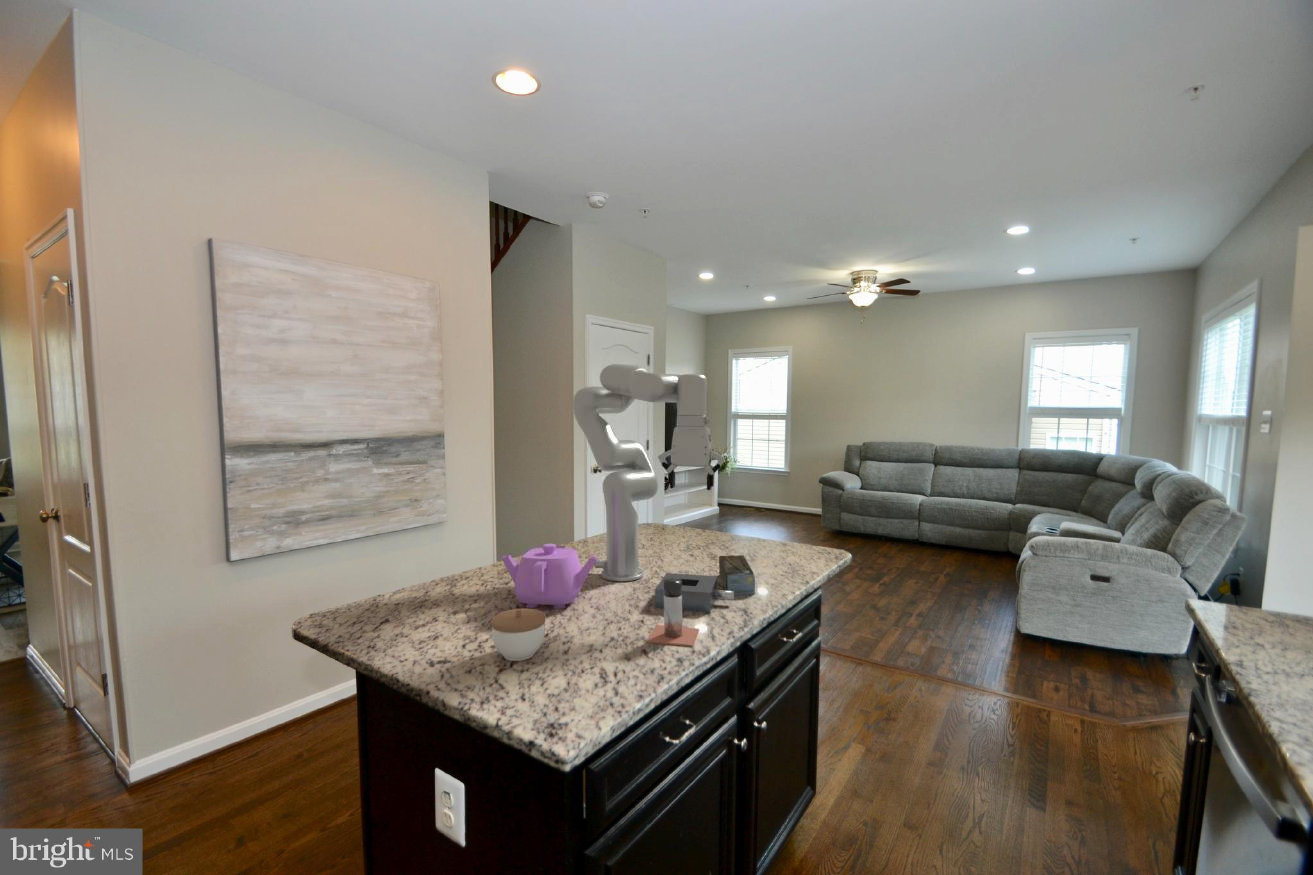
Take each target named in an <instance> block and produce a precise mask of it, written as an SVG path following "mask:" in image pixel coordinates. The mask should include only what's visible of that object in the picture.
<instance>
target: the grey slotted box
mask: <svg viewBox="0 0 1313 875" xmlns="http://www.w3.org/2000/svg"><path fill="white" fill-rule="evenodd" d="M669 578H677V579H680V580H682V612H683V611H684V612H694V613H708V614H709V613H710V614H711V612H712V610H713V607H714V605H715V602H716V600H717V599H725V600H726V599H728V600H734V599H735V595H734V591H726V590H725V589H724V590H722V589H721V590H720V589H718V587H719V586H718V585H719V584H718V583H719V582H718V579H719V578H718V576H717V575H715V576H714V575H702V574H688V573H687V574H686V573H671V572H667V573H665V575H664V576H663V578H662V579H661V580H660V582H659V583H658V584H657V586H656V587H655V588H654V609H657V610H658V609H659V610H664V580H665V579H669Z"/></svg>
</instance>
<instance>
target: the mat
mask: <svg viewBox="0 0 1313 875" xmlns="http://www.w3.org/2000/svg"><path fill="white" fill-rule="evenodd" d="M699 632H700V628H696V627H695V628H694V627H693V628H692V627H685V626H684V627H683V626H682V636H681V637H679V638H668V637H666V636H665V635H664V625H660V624H656V625H655V626H654V628H653V630H652V631H651V632H650V634H649V636H648V637H647V639H646V643H647V644H648V643H649V644H656V645H657V644H661V645H668V644H670V646H678V645H679V647H689V648H690V647H691V648H692V647H694V644H695V642H696V639H697V636H698V634H699Z"/></svg>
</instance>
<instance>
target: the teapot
mask: <svg viewBox="0 0 1313 875" xmlns="http://www.w3.org/2000/svg"><path fill="white" fill-rule="evenodd" d="M579 558H580V557H579V556H578V552H577V550H576V549H574V548H569V547H565V545H557V544H554V543H545V544H542V547H534V548H531V549H529V550H528V551H527V552H525V553H524V554H523V555H522V556H521V558H520V561H519V562H517V561H516V560H515V559H514V558H513V557H512V555H511V554H510V555H503V556H502V557H501V560H502V562H503V564H504V566H505V568H506V569H507V572H508V574H509V575H510V578H511V579H512V582H513V583H514V586H515V587H514V593H515V597H516V599H517V602H519V603H523V604H526V609H535V608H537V607H538V606H539V605H548V606H549V605H553V608H554V609H556V610H561V609H565V608H566V607H567V606H566V605H568V604H570V603H572V602H574V601H575V599H576V598H577V597H578V596H579V594H580V592H581V591H582V590H581V589H582V587H583V584H584V582H585V580H586V579H587V577H588V575H589V574H590V572H591V571H592V568H593V567H594V563H595V562H596V560H598V557H596V556H589V557H588V560H587V561H586V563H584V565H583V567H582V565H581V562H580V559H579Z"/></svg>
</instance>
